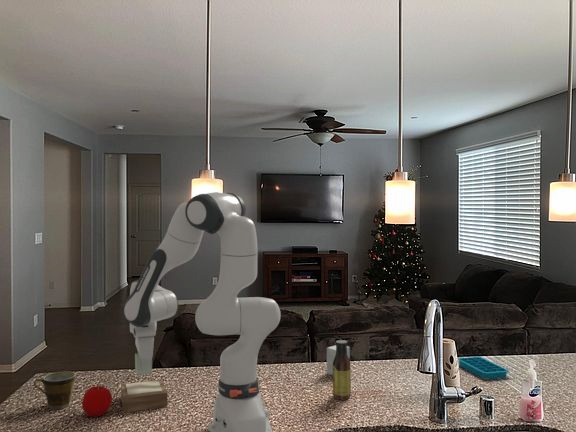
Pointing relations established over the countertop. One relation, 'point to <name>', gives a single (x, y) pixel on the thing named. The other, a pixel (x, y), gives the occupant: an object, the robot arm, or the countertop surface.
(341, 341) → the sauce bottle
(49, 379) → the ceramic cup
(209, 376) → the countertop surface
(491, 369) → the ice cube tray
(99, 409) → the fruit
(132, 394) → the base
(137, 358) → the block
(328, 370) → the small box
